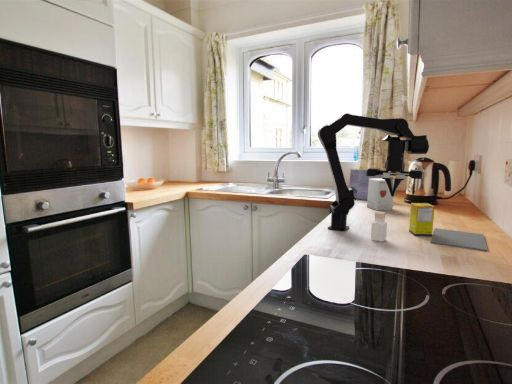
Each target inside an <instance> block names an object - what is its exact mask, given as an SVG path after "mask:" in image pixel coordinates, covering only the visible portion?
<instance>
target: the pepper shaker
mask: <svg viewBox="0 0 512 384" xmlns="http://www.w3.org/2000/svg"><path fill="white" fill-rule="evenodd" d="M385 218H386V212H385V211H384V212H383V211H375V212H374V220H373V221H372V222H371V226H370V227H371V230H370V231H371V233H370V240H372V241H375V242H380V243H382V242H384V241H386V240H387V229H388V222H386V221H385Z"/></svg>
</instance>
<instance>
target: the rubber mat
mask: <svg viewBox="0 0 512 384" xmlns="http://www.w3.org/2000/svg"><path fill="white" fill-rule="evenodd" d="M430 244H434V245H435V244H436V245H441V246H448V247H455V248H462V249H468V250H476V251H481V252H488V248H487V243H486V240H485V235H484V233H475V232H469V231H467V232H466V231H460V230H452V229H447V228H445V229H444V228H437V227H435V228H434V229H433V232H432V236H431V239H430Z"/></svg>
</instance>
